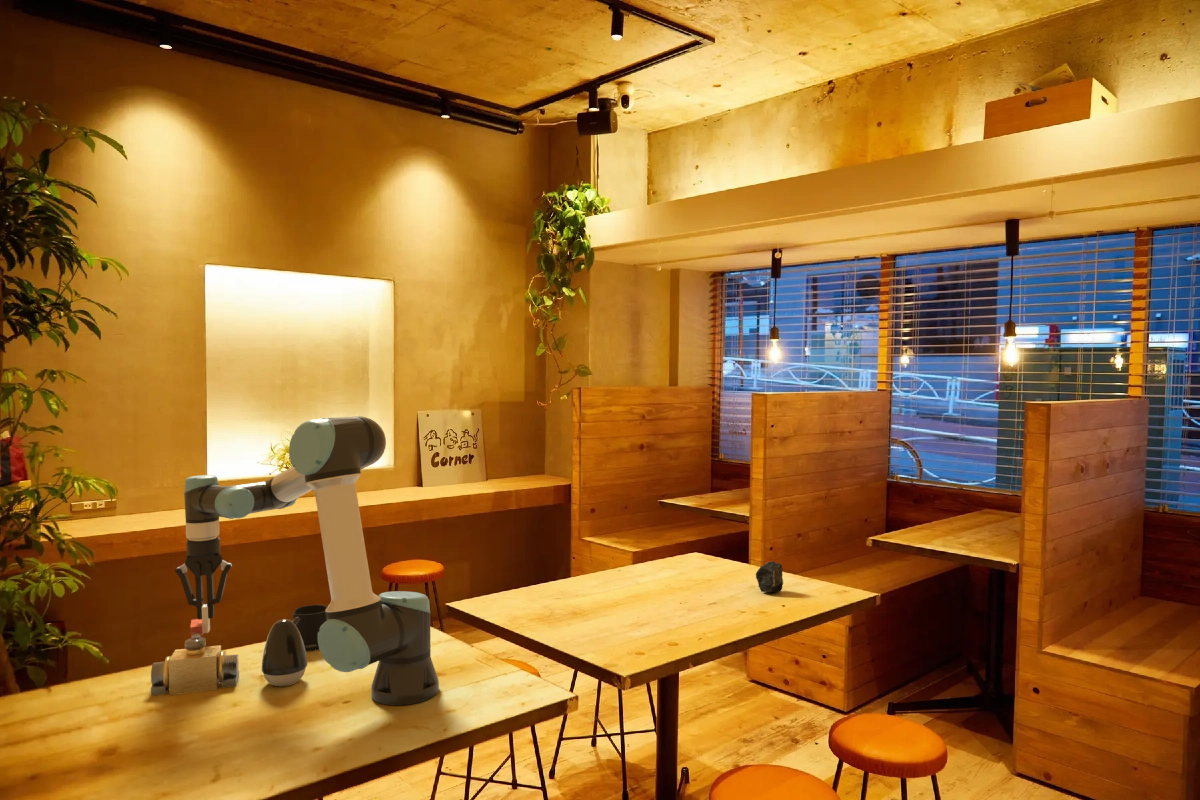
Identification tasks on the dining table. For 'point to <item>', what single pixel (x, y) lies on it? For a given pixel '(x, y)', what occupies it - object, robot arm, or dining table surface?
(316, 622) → the pen holder
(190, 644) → the lever
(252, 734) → the dining table surface
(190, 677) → the valve
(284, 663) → the black egg-shaped shaker
